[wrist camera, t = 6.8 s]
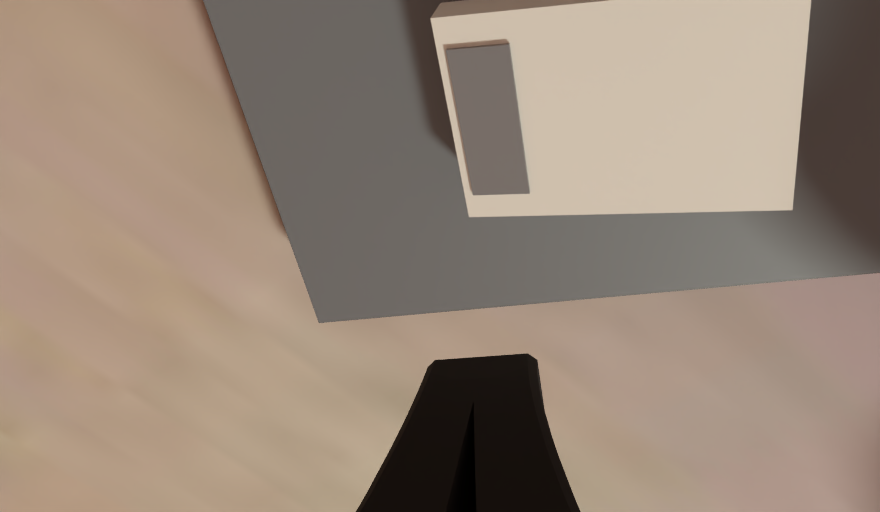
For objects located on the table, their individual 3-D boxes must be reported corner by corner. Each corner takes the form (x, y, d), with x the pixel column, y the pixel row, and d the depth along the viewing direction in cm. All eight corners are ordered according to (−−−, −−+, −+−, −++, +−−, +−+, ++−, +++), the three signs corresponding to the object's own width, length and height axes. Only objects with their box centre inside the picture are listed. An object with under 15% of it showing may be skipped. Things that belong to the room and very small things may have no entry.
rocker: (807, -36, 13) (814, -19, 12) (787, 187, 16) (792, 212, 15) (440, 2, 15) (429, 19, 14) (476, 197, 18) (468, 219, 17)
